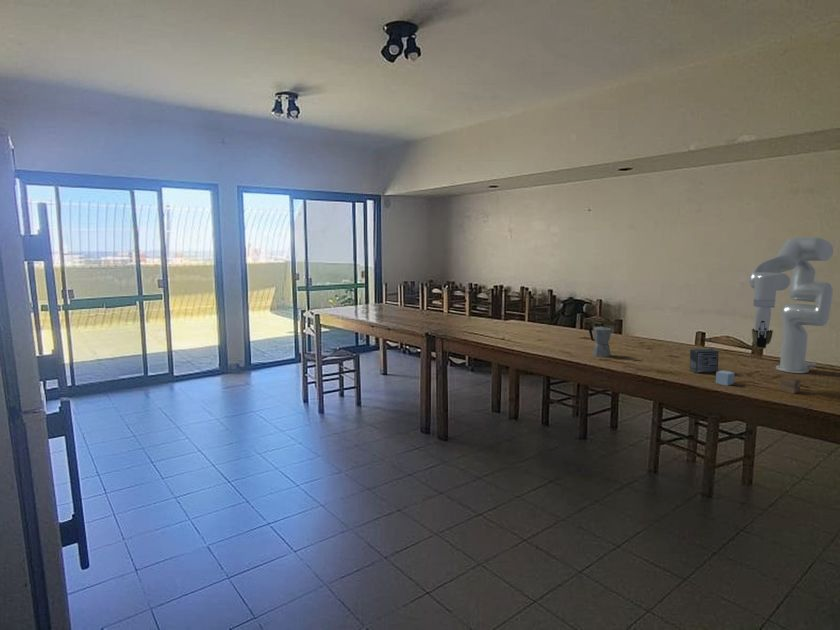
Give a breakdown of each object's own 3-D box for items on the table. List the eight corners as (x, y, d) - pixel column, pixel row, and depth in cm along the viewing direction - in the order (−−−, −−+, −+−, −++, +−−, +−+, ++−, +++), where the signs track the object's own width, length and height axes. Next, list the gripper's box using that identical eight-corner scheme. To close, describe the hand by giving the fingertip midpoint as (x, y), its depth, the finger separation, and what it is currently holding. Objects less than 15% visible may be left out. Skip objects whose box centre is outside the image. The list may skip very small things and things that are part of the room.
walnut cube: (786, 388, 212) (786, 377, 211) (799, 391, 208) (800, 379, 207) (779, 390, 209) (780, 378, 209) (793, 393, 205) (794, 381, 204)
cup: (766, 346, 218) (767, 328, 217) (775, 350, 211) (776, 331, 210) (747, 346, 220) (748, 328, 218) (755, 350, 212) (756, 331, 211)
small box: (710, 369, 245) (711, 348, 244) (718, 372, 239) (719, 351, 237) (688, 370, 245) (689, 348, 243) (696, 373, 238) (697, 351, 237)
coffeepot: (617, 356, 277) (618, 323, 275) (606, 358, 272) (607, 325, 270) (593, 351, 290) (594, 320, 287) (582, 353, 285) (583, 322, 282)
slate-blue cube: (722, 381, 225) (723, 370, 224) (733, 383, 220) (734, 372, 220) (715, 383, 222) (716, 371, 222) (727, 385, 218) (727, 374, 217)
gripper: (754, 301, 222) (751, 341, 224) (752, 305, 208) (750, 348, 210) (774, 301, 218) (771, 342, 220) (775, 306, 203) (772, 350, 206)
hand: (761, 345), depth 215 cm, fingers closed on cup, 6 cm apart
